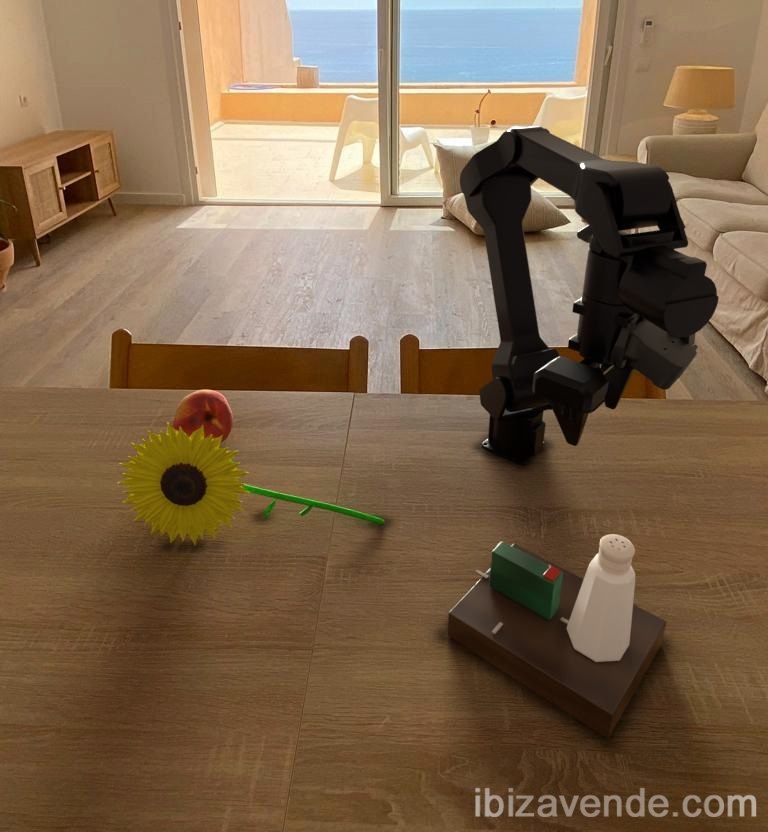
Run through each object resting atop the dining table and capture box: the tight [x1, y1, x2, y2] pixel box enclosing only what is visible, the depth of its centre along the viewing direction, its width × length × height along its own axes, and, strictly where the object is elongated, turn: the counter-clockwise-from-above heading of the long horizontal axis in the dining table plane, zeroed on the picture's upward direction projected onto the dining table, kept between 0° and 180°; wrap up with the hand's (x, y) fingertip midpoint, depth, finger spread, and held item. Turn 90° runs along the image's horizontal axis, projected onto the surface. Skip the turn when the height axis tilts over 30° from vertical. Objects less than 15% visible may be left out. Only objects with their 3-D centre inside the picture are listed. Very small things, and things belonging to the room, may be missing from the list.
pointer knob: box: [490, 541, 563, 620], centre depth 65 cm, size 6×2×5 cm, turn 50°
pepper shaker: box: [566, 533, 636, 662], centre depth 60 cm, size 5×5×11 cm
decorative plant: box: [117, 421, 385, 546], centre depth 78 cm, size 15×6×30 cm
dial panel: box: [447, 542, 667, 740], centre depth 65 cm, size 12×17×3 cm
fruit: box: [172, 389, 234, 444], centre depth 94 cm, size 8×8×8 cm
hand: (592, 425), depth 76 cm, fingers open, 9 cm apart
